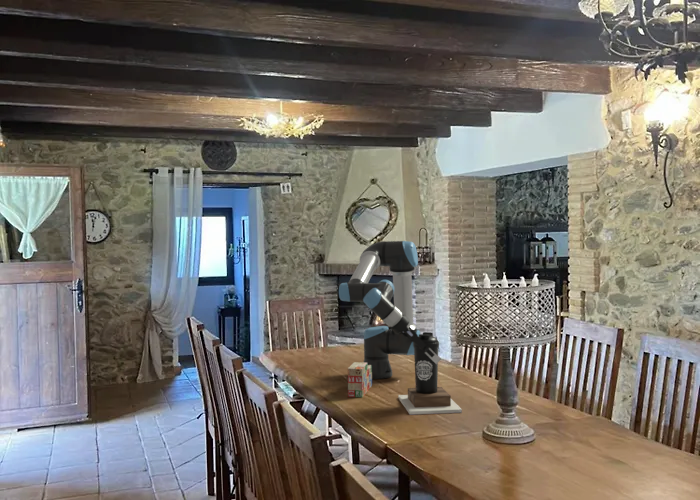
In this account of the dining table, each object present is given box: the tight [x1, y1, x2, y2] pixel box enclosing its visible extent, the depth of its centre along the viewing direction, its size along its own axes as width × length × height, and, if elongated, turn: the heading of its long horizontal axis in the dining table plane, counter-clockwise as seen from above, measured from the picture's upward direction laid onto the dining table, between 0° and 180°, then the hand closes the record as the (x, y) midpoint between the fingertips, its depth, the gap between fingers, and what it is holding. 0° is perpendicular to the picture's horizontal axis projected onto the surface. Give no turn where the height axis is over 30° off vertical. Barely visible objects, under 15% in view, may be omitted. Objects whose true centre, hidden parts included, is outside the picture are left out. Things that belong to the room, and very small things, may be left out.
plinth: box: [407, 386, 452, 407], centre depth 250 cm, size 14×14×4 cm
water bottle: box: [413, 331, 440, 394], centre depth 251 cm, size 10×10×23 cm
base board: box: [398, 394, 463, 416], centre depth 250 cm, size 24×20×1 cm
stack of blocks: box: [347, 361, 373, 398], centre depth 274 cm, size 21×6×12 cm, turn 167°
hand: (434, 358), depth 250 cm, fingers open, 12 cm apart
